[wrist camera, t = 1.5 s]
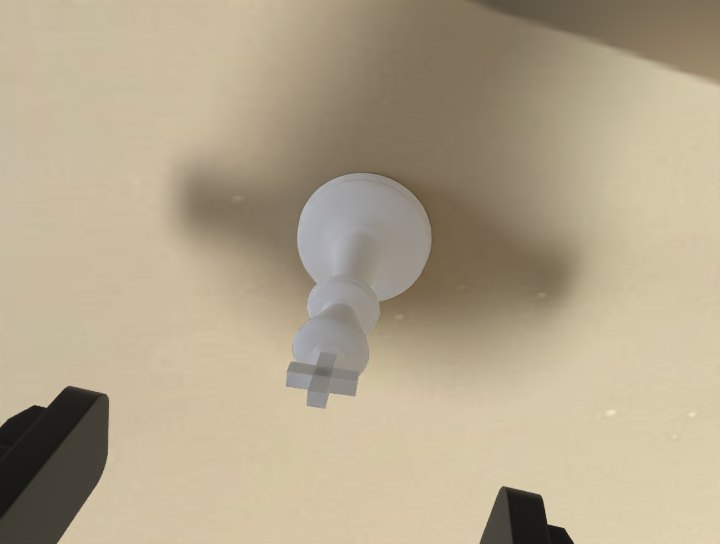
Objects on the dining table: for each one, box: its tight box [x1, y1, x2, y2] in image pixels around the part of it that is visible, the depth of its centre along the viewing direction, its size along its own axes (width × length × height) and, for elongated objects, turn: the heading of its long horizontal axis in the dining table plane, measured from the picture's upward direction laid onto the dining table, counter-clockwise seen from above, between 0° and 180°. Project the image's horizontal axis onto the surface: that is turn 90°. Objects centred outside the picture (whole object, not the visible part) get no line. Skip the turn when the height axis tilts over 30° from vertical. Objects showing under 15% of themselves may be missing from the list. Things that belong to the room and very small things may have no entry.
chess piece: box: [286, 173, 432, 408], centre depth 20 cm, size 5×5×10 cm
